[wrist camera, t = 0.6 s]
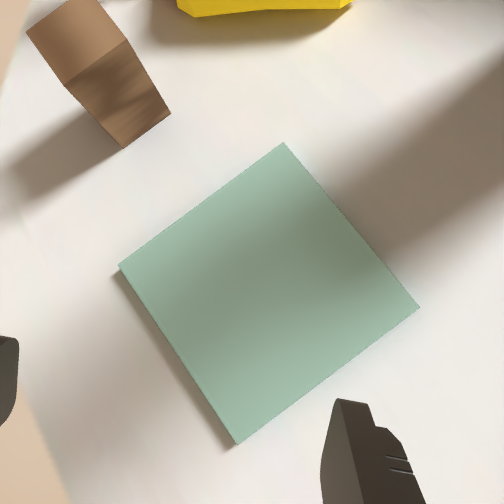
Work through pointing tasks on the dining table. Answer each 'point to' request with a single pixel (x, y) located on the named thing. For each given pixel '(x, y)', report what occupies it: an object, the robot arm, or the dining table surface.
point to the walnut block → (99, 69)
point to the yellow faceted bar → (252, 5)
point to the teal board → (265, 291)
